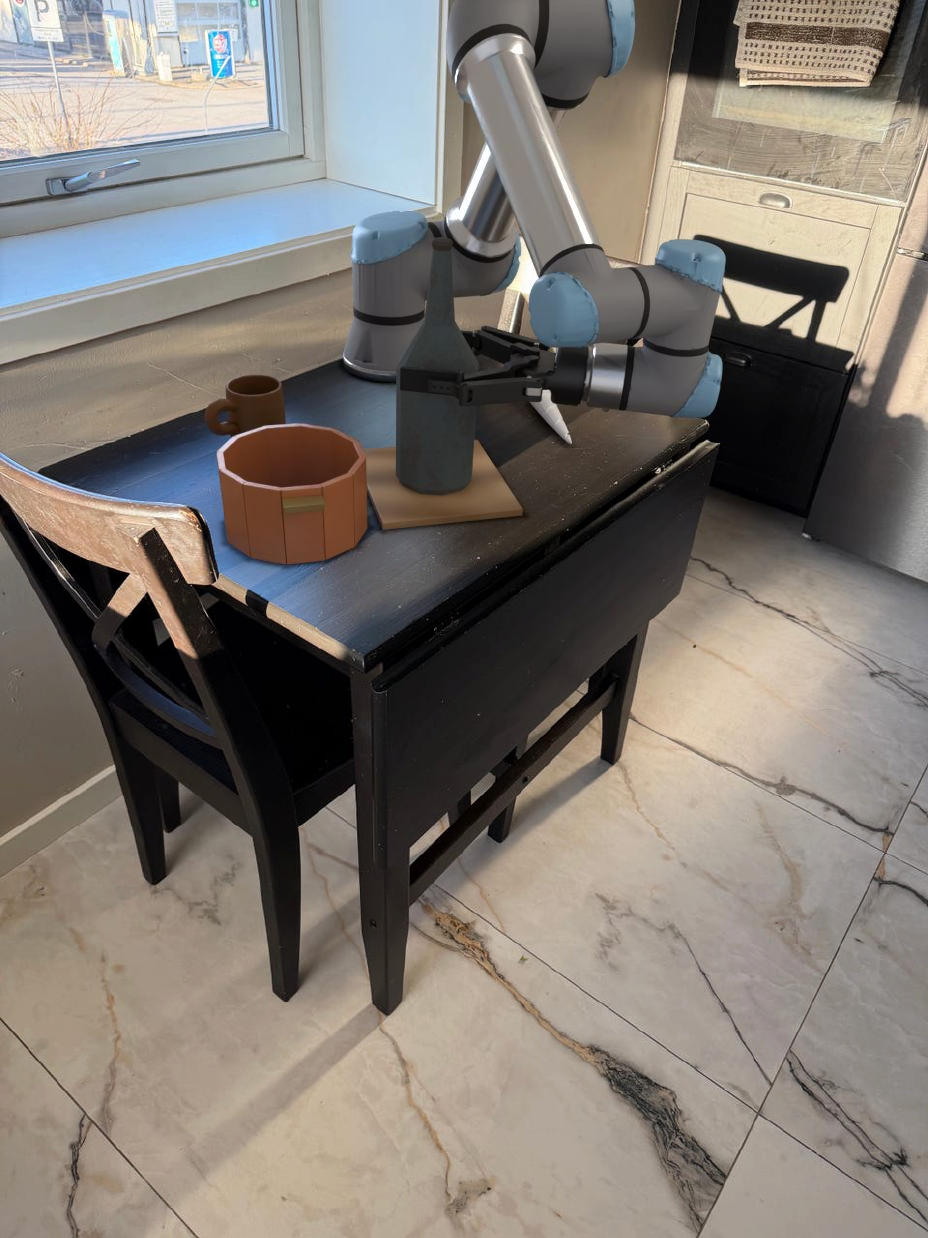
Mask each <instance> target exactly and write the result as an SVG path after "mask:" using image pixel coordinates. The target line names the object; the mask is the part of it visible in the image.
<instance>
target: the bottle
mask: <svg viewBox="0 0 928 1238" xmlns="http://www.w3.org/2000/svg"><path fill="white" fill-rule="evenodd" d="M431 244H432V247H433V253H432V261H431V269H430V277H429V286H428V294H427V300H426V301H425V318H424V321H423V323H422V324H421V326H420V327H419V329H418V330H417V332H416V333H415V335H414V337H413V338H412V340H411V341H410V343H409V344H408V346H407V347H406V349H405V350H404V352H403V354H402V355H401V357H400V358H399V361H398V364H397V367H396V383H395V447H396V476H397V478H398V479H399V481H400V482H401V483H402V485H403V486H405V487H407V488H409V489H411V490H413V491H415V492H418V493H420V494H431V495H446V494H449V493H453V492H457V491H461V490H463V489H464V488H465V487H466V486H468V484H469V483H470V482H471V478H472V470H473V454H474V440H475V436H476V434H475V433H476V419H477V405H476V406H460V405H459V400H458V399H456V398H455V396H450V395H441V394H431V393H421V392H412V391H402V390H400V367H401V365H402V366H412V367H422V368H432V369H441V370H451V371H457V370H458V369H459V370H461V371H463V373H465V374H469V373H474V372H479V369H480V363H479V361H478V359H477V357H476V356H474V354H473V349H472V350H471V349H470V347H469V345H468V343H467V341H466V340H465V338H464V336H463V334H462V332H461V331H460V330H461V329H460V327H459V325H458V324H457V321H456V314H455V312H456V311H455V298H454V293H453V275H452V257H451V248H452V245H453V242H452V240H451V239H449V238H443V237H438V238H434V239H433V241H432V243H431Z"/></svg>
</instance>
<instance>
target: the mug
mask: <svg viewBox="0 0 928 1238" xmlns="http://www.w3.org/2000/svg"><path fill="white" fill-rule="evenodd" d="M285 407H286V406H285V394H284V389H283V383H282V382H281V380H280V379H278V378H276V377H274V376H270V375H266V374H244V375H240V376H236V377H234V378H232V379H230V380H228V382H227V383H226V385H225V398H224V397H223V398H222V397H219V398H216V399H214V400H212V401H211V402H210V403H209V404H208V405H207V407H206V409H205V413H204V421H205V424H206V427H207V429H208V430H209V431H210V432H211V433H212V434H214V435H216V436H220V437H223V436H229V438H230V439H231V438H232V437H234V436H236V435H239V434H242V433H245V432H248V431H251V430H254V429H257V428H260V427H263V426H268V425H282V424H287V419H286V418H287V417H286V408H285ZM221 411H224V412H226V413H227V421H223V422H220V420H218V419H219V418H218V415H219V413H220V412H221Z"/></svg>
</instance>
